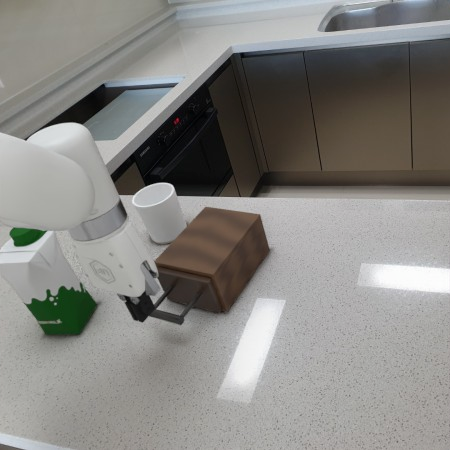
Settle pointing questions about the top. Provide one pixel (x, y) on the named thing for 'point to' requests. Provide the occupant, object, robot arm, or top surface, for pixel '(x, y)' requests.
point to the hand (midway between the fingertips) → (144, 314)
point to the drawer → (185, 293)
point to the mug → (160, 212)
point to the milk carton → (45, 281)
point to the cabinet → (219, 250)
